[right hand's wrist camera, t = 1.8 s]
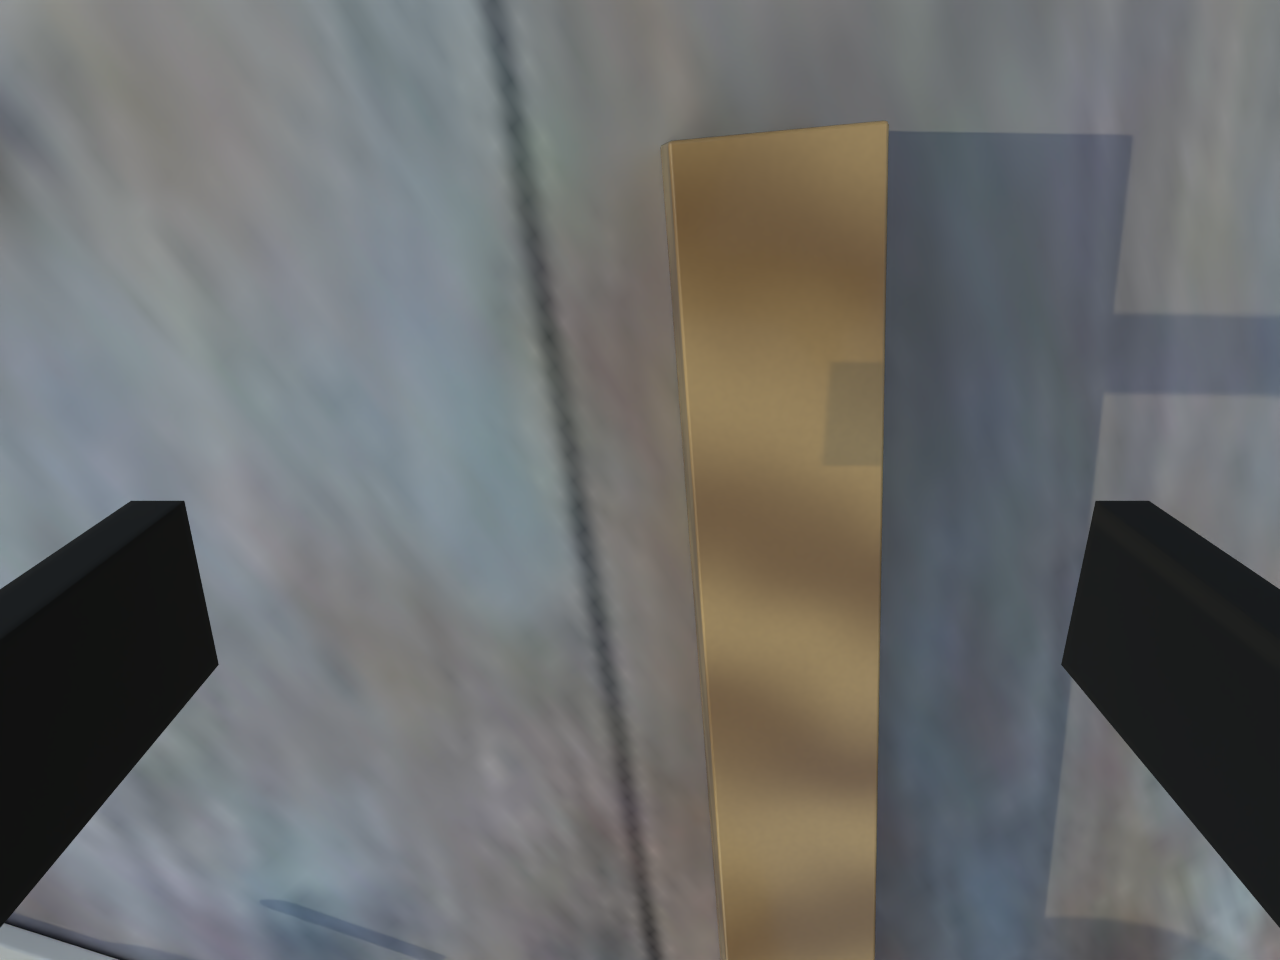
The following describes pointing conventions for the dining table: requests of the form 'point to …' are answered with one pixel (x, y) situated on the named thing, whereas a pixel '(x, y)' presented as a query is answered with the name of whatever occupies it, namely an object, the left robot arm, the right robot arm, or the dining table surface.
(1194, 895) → the dining table surface
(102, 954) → the left robot arm
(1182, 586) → the right robot arm
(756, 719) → the bar
